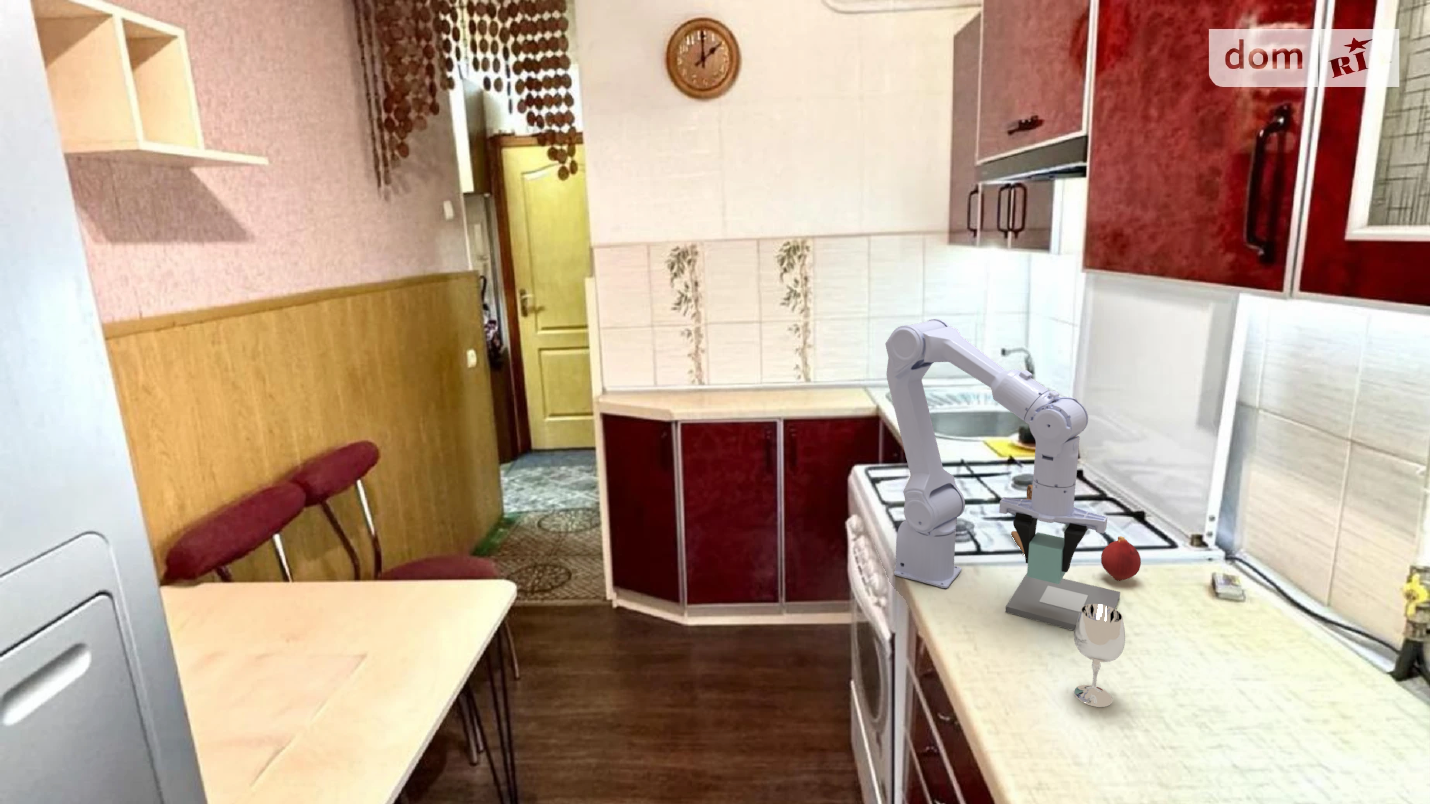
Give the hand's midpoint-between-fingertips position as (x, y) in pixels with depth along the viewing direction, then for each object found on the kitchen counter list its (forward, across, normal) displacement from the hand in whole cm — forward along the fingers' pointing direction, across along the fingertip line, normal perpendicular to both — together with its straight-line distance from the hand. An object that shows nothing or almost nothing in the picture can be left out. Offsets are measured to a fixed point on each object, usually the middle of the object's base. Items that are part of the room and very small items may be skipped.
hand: (1047, 565), depth 112 cm
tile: (+9, +2, +6) cm, 11 cm away
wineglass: (+9, +10, -16) cm, 21 cm away
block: (+2, 0, 0) cm, 2 cm away
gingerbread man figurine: (+9, -9, +25) cm, 28 cm away
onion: (+9, +8, +19) cm, 22 cm away
